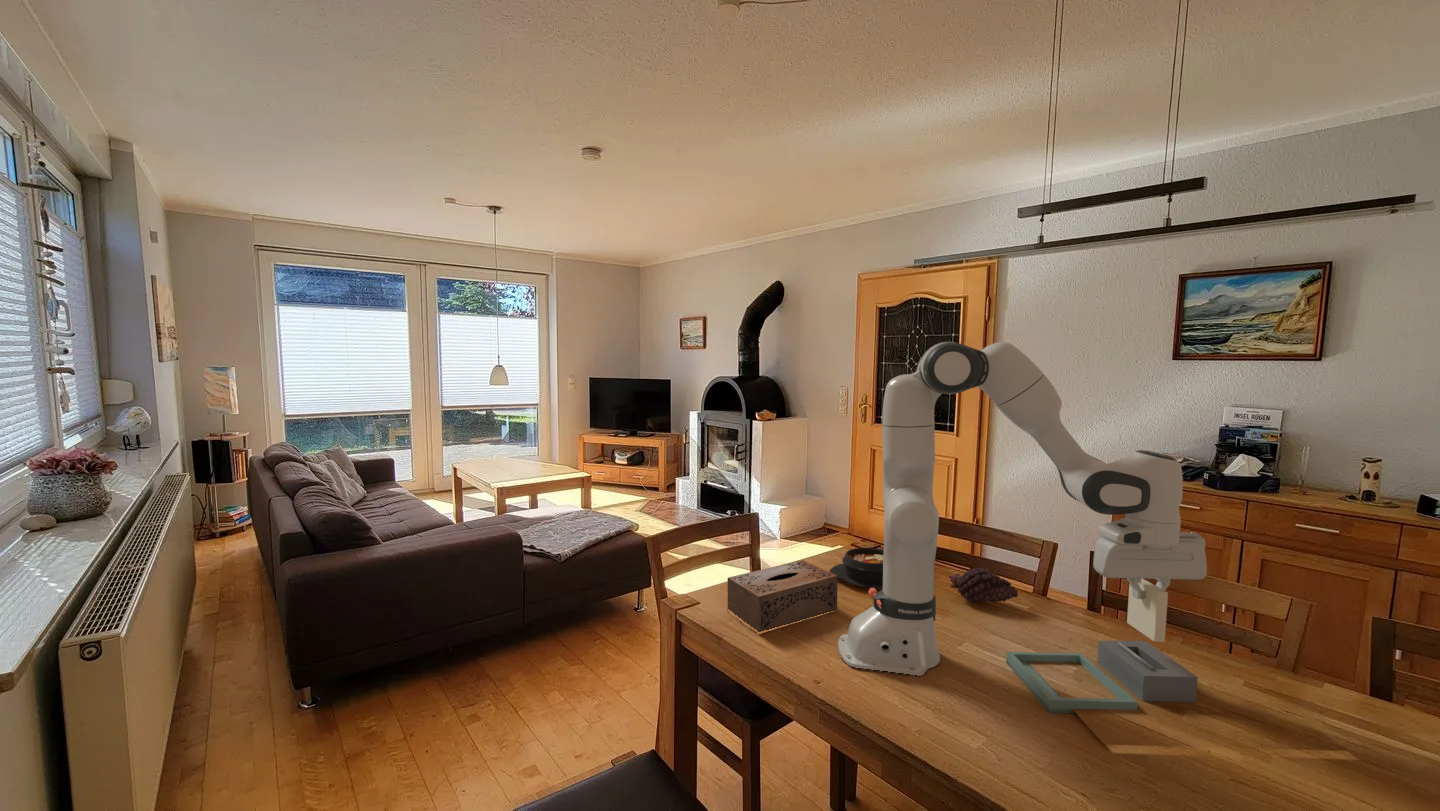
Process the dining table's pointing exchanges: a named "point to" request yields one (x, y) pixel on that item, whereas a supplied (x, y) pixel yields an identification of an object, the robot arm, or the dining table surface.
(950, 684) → the dining table surface
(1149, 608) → the cream flat slab
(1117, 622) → the dining table surface
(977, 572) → the pine cone
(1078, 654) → the teal flat frame
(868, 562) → the casserole
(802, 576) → the tissue box cover
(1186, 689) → the holder
